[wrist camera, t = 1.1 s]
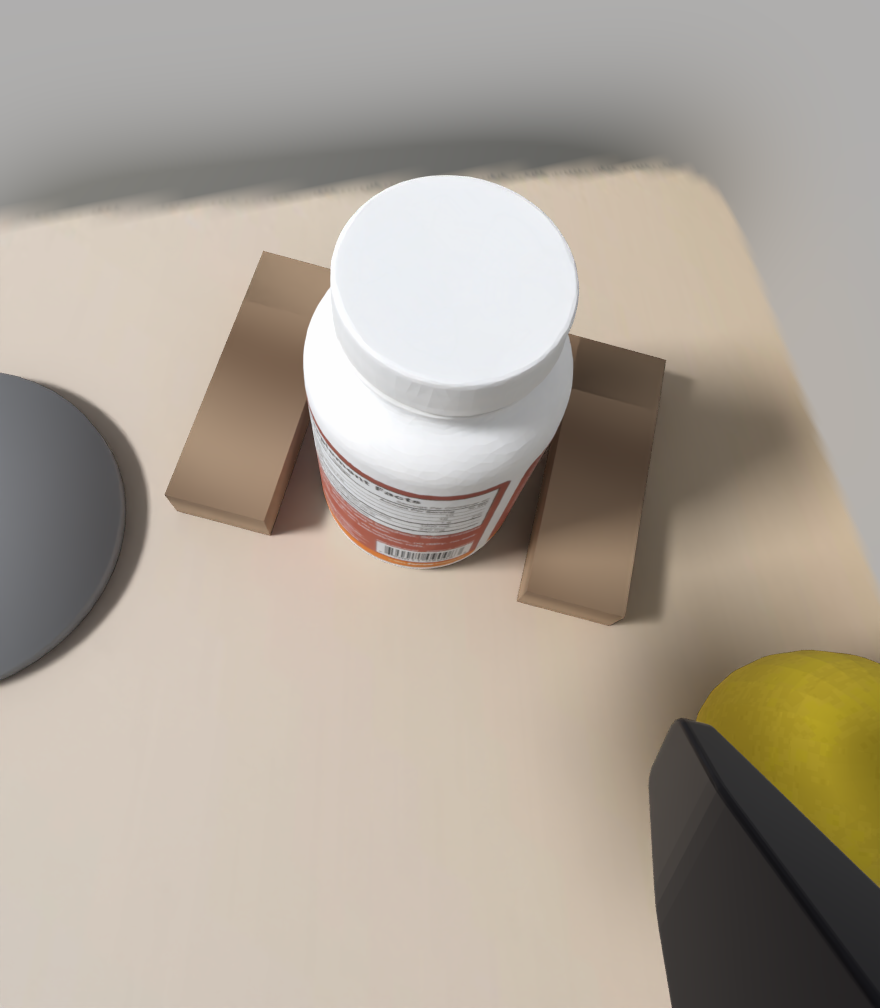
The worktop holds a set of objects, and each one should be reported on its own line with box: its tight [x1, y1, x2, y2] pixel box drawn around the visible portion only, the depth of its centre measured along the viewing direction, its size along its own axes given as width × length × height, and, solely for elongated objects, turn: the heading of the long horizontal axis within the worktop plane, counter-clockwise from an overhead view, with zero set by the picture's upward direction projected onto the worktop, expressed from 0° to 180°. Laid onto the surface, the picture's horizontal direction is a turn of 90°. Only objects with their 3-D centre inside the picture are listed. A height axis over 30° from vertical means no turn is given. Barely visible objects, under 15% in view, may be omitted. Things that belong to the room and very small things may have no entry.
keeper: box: [165, 251, 666, 626], centre depth 24 cm, size 9×14×2 cm, turn 76°
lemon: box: [696, 650, 880, 888], centre depth 18 cm, size 6×6×8 cm
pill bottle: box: [303, 175, 579, 569], centre depth 19 cm, size 6×6×11 cm
